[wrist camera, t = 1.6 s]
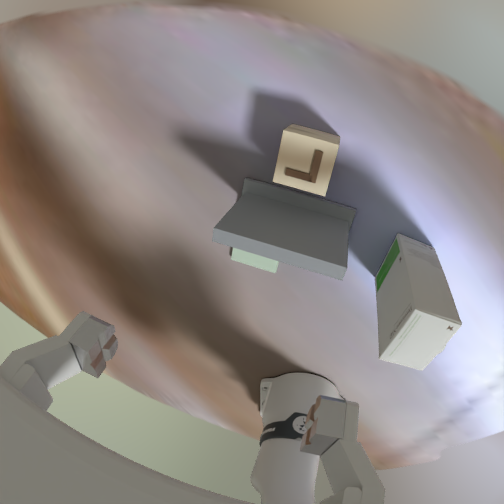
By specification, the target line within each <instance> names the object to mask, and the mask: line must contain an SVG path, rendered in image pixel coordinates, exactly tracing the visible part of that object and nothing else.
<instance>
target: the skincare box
mask: <svg viewBox="0 0 504 504" xmlns="http://www.w3.org/2000/svg"><path fill="white" fill-rule="evenodd" d="M375 286H376V300H377V316H378V337H379V359H381V360H384V361H388V362H391V363H395V364H399V365H403V366H407V367H410V368H414V369H418V370H421V371H422V370H423V369H424V368H425V367H426V366H427V365H428V364H429V363H430V362H431V361H432V360H433V358H434V357H435V356H436V355H437V354H439V353H441V352H442V351H443V350H444V348H445V346H446V344H447V342H448V341H449V340H450V339H451V338H452V337H453V335H454V334H455V333H456V332H457V331H458V329H459V328H460V327H461V325H462V322H461V320H460V318H459V315H458V312H457V309H456V306H455V303H454V300H453V297H452V294H451V291H450V288H449V286H448V283H447V280H446V277H445V275H444V272H443V269H442V267H441V264H440V262H439V259H438V256H437V254H436V251H435V249H434V248H433V247H431V246H429V245H426V244H424V243H422V242H419V241H417V240H414V239H412V238H409V237H407V236H404V235H402V234H399V233H398V234H397V235H396V237H395V239H394V241H393V243H392V245H391V247H390V249H389V251H388V253H387V255H386V257H385V259H384V261H383V263H382V265H381V267H380V269H379V270H378V272H377V274H376V276H375Z"/></svg>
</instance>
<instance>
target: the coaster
mask: <svg viewBox="0 0 504 504" xmlns="http://www.w3.org/2000/svg"><path fill="white" fill-rule="evenodd" d="M231 260H234V261H237V262H241V263H244V264H247V265H250V266H254V267H257V268H260V269H263V270H266V271H270V272H273V273H276V271H277V268H278V264H279V261H276V260H273V259H269V258H266V257H263V256H260V255H256V254H253V253H250V252H246V251H243V250H240V249H237V248H233V251H232V257H231Z"/></svg>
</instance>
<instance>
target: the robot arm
mask: <svg viewBox="0 0 504 504" xmlns="http://www.w3.org/2000/svg"><path fill="white" fill-rule="evenodd" d="M114 332H115V328H114V325H111V324H109V323H107V322H105V321H103V320H101V319H98V318H96V317H94V316H93V315H90V314H88V313H86V312H84V311H82V312H80V313H79V314H78V315H77V316H76V317H75V318H74V319H73V321H72V322H71V323H70V324H69V325H68V326H67V327H66V329H65V330H64V331H63V332H62V333H61V334H60V335H59V336H57V335H55V336H53V337H50V338H47V339H45V340H42V341H39V342H37V343H34V344H31V345H28V346H26V347H23V348H20V349H18V350H15V351H12V353H11V354H10V355H9V356H8V357H7V358H6V360H5V361H4V362H3V363H2V364H1V366H0V504H254V503H249V502H245V501H242V500H238V499H234V498H230V497H227V496H223V495H220V494H217V493H214V492H211V491H207V490H205V489H202V488H199V487H196V486H193V485H190V484H187V483H184V482H181V481H179V480H177V479H174V478H171V477H169V476H166V475H163V474H161V473H159V472H157V471H154V470H152V469H150V468H147V467H145V466H143V465H141V464H138V463H136V462H134V461H132V460H130V459H128V458H126V457H124V456H122V455H120V454H118V453H116V452H114V451H112V450H110V449H108V448H106V447H104V446H102V445H101V444H99V443H97V442H95V441H93V440H92V439H90V438H88V437H86V436H85V435H83V434H81V433H80V432H78V431H76V430H75V429H73V428H71V427H70V426H68V425H67V424H65V423H63V422H62V421H60V420H59V419H57V418H56V417H54V416H53V415H51V414H50V413H48V412H47V409H48V408H49V406H50V405H51V403H52V402H53V398H52V396H51V395H50V393H49V392H48V390H47V389H49V388H51V387H53V386H55V385H57V384H59V383H61V382H62V381H64V380H66V379H68V378H70V377H72V376H74V375H75V374H77V373H79V372H81V371H82V370H83V371H85V372H86V373H88V374H90V375H92V376H94V377H96V378H98V377H99V376H100V375H101V373H102V372H103V370H104V369H105V368H106V361H108V360H110V359H112V357H113V356H114V354H115V352H116V350H117V346H118V341H117V338H116V336H115V335H114ZM260 415H261V416H262V417H263V418H262V421H263V432H262V434H261V437H260V450H259V453H258V456H257V459H256V463H255V465H254V468H253V471H252V474H251V483H252V486H253V487H254V488H255V489H256V491H258V492H259V493H260V495H261V504H316V503H315V496H314V487H315V481H316V475H317V469H318V464H319V458H321V460H322V463H323V466H324V468H325V471H326V474H327V477H328V479H329V482H330V484H331V487H332V490H333V492H334V495H332V496H330V497H328V498H326V499H324V500H322V501H321V502H320V504H384V495H385V488H384V486H383V484H382V482H381V480H380V479H379V477H378V475H377V473H376V471H375V469H374V467H373V465H372V464H371V462H370V460H369V458H368V456H367V454H366V452H365V450H364V449H363V447H362V445H361V443H360V442H357V432H358V418H359V404H358V403H356V402H351V401H346V400H344V399H343V398H342V397H341V396H340V395H339V392H338V390H337V388H336V387H335V386H334V385H333V384H332V383H331V382H330V381H328V380H326V379H325V378H322V377H320V376H317V375H313V374H308V373H288V374H284V375H281V376H279V377H276V378H265V379H262V380H261V383H260Z"/></svg>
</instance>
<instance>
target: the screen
mask: <svg viewBox="0 0 504 504" xmlns="http://www.w3.org/2000/svg"><path fill="white" fill-rule="evenodd" d="M355 213H356V209H355V208H351V207H348V206H345V205H342V204H339V203H335V202H332V201H329V200H326V199H322V198H319V197H315V196H312V195H309V194H305V193H302V192H298V191H295V190H291V189H288V188H284V187H280V186H277V185H273V184H269V183H265V182H262V181H258V180H254V179H250V178H245V179H244V183H243V189H242V195H241V198H240V199H239V200H238V201H237V202H236V203H235V204H234V206H233V207H232V208H231V209H230V210H229V211H228V212H227V213H226V215H225V216H224V217H223V218H222V219H221V220H220V221H219V223H218V224H217V225H216V226H215V227H214V230H213V238H212V241H214V242H217V243H220V244H223V245H227V246H230V247H233V248H237V249H240V250H243V251H246V252H250V253H253V254H256V255H260V256H263V257H266V258H269V259H273V260H276V261H279V262H283V263H286V264H289V265H292V266H296V267H299V268H302V269H306V270H309V271H312V272H315V273H319V274H322V275H325V276H329V277H332V278H335V279H338V280H342V279H343V277H344V275H345V272H346V270H347V260H348V233H349V230H350V227H351V225H352V222H353V219H354V216H355Z"/></svg>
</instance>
